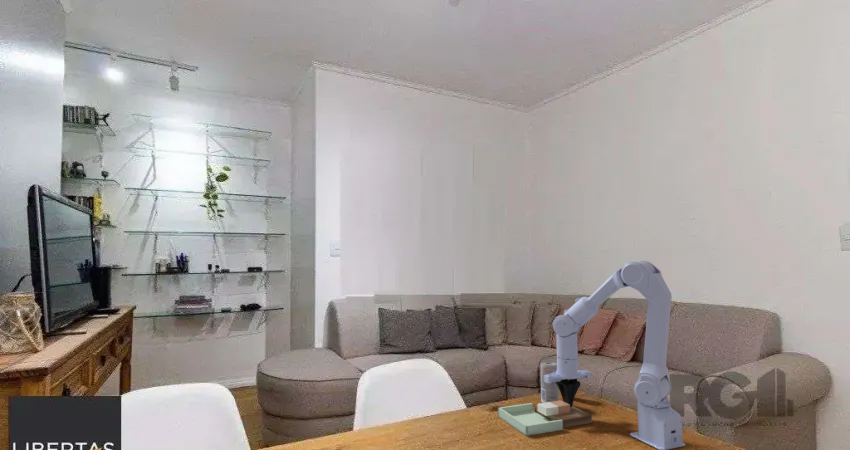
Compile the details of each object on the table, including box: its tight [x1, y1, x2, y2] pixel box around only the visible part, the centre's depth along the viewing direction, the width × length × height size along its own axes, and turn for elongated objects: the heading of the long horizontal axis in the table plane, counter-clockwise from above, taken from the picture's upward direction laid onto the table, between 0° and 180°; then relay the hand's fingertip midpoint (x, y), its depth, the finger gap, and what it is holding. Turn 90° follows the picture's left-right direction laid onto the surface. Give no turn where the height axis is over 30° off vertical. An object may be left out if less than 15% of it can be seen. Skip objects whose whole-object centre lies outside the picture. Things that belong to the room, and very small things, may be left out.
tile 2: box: [550, 399, 570, 414], centre depth 123 cm, size 4×4×2 cm
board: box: [534, 404, 593, 429], centre depth 123 cm, size 12×10×2 cm
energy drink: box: [540, 360, 560, 403], centre depth 135 cm, size 5×5×12 cm
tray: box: [497, 402, 564, 437], centre depth 119 cm, size 14×11×2 cm
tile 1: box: [536, 402, 558, 416], centre depth 121 cm, size 4×4×2 cm
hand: (568, 406), depth 124 cm, fingers closed
